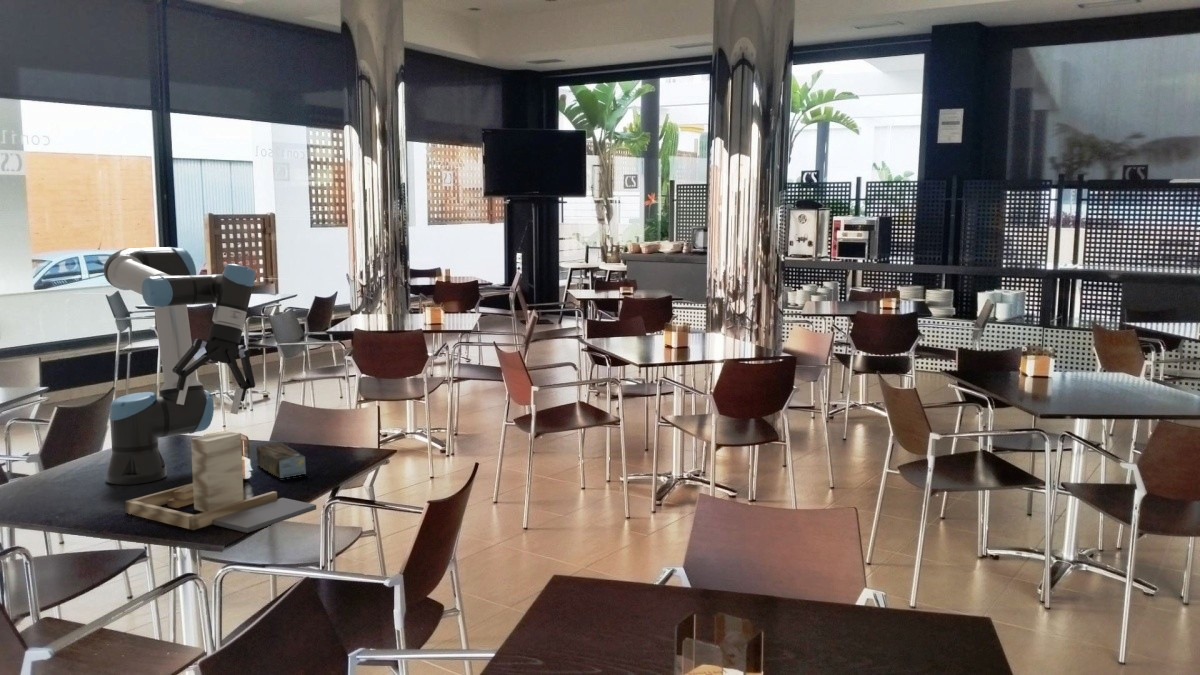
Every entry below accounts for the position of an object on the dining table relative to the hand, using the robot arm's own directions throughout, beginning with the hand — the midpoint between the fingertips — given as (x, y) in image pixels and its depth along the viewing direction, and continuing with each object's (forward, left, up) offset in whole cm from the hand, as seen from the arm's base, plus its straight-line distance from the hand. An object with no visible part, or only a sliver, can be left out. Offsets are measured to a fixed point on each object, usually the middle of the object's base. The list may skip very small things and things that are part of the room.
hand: (207, 409), depth 234 cm
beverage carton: (-13, +33, -25) cm, 44 cm away
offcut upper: (-9, +1, -23) cm, 25 cm away
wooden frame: (-1, -2, -25) cm, 25 cm away
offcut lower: (-9, 0, -25) cm, 27 cm away
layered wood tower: (+1, +1, -25) cm, 25 cm away
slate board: (+18, +1, -25) cm, 31 cm away
